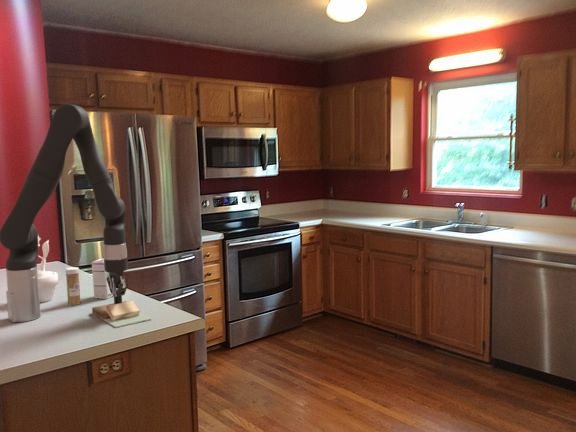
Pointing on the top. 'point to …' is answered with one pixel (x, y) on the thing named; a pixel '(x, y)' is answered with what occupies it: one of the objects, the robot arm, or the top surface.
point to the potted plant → (46, 277)
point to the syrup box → (100, 280)
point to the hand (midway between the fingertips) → (118, 306)
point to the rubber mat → (127, 320)
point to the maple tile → (122, 310)
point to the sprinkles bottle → (73, 285)
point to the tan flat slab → (102, 311)
